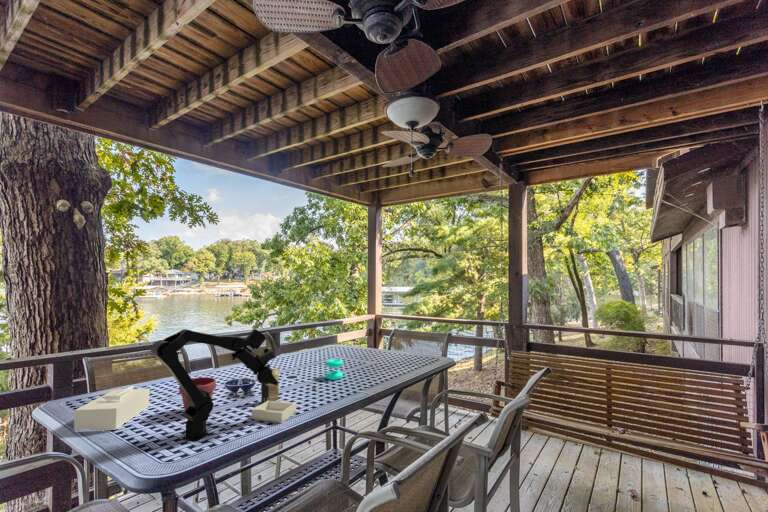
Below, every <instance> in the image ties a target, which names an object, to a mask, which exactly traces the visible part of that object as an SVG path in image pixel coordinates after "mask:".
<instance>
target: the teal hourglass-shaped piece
mask: <svg viewBox="0 0 768 512" xmlns="http://www.w3.org/2000/svg"><path fill="white" fill-rule="evenodd" d="M343 365H344V361H343V360H342V359H340V358H332V359H328V360H326V362H325V366H327V368H331V369H337V368H341V367H342V366H343ZM325 378H326V379H327V380H329V381H330V380H331V381H337V380H339V381H340V380H341V379H343V378H344V373H343V372H342V371H339V370H329V371H328V372H326V374H325Z"/></svg>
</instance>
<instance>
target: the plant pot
mask: <svg viewBox="0 0 768 512" xmlns="http://www.w3.org/2000/svg"><path fill="white" fill-rule="evenodd" d="M191 379H192V380H193V382H194V383H195V385H196V386H197V388H198V389H199V390H200V389H203V390H205V391H207V392H208V393H209V395H210V397H211V398H212V399H213V394H214V391H215V390H216V387H217V380H216V378H214V377H208V376H204V377H203V376H202V377H193V378H191ZM178 385H179V384H178ZM178 394H179V395H181V399H182V403H183V409H184V412H185V411H186V409H187V408H188V407H189V406H190V405H189V403H188V399H187V395H186V394H185V392H184V391H183V389H182V388H181V387H180V385H179V389H178Z"/></svg>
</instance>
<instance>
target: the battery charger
mask: <svg viewBox="0 0 768 512" xmlns="http://www.w3.org/2000/svg"><path fill="white" fill-rule="evenodd" d="M260 386H261V387H260V393H261V395H260V396H261V398H260V399H261V400H260V401H261V404H263V403H264V402H266V401H269V383H266V382H262V383H260Z"/></svg>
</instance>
